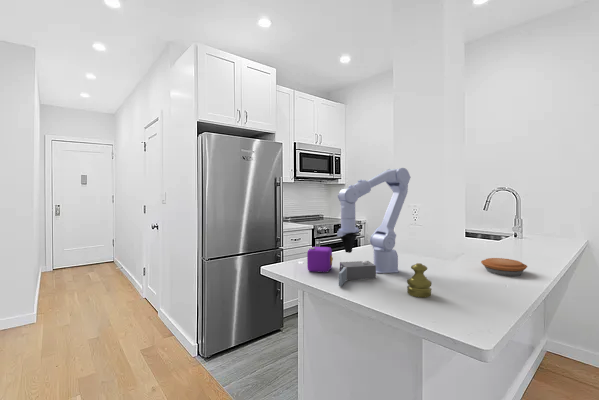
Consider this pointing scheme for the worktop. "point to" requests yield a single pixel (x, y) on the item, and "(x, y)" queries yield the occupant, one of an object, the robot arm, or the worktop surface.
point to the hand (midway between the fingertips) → (348, 252)
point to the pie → (504, 266)
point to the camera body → (359, 270)
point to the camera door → (342, 276)
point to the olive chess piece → (419, 282)
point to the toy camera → (319, 259)
